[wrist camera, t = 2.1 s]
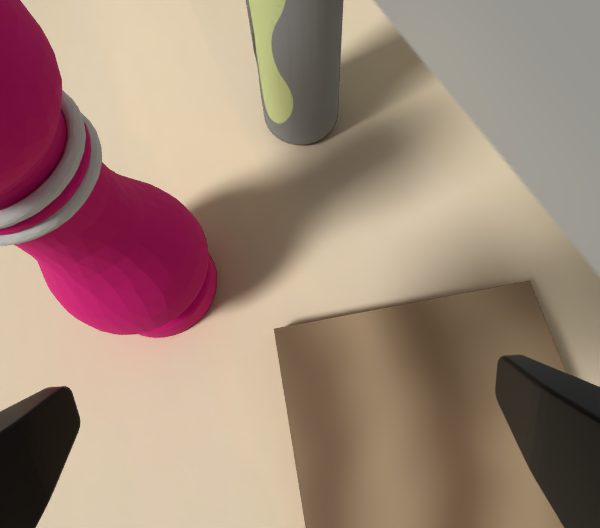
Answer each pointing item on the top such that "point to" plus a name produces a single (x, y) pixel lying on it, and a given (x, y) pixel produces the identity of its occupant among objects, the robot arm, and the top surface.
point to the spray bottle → (298, 65)
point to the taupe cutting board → (414, 413)
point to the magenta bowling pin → (89, 205)
